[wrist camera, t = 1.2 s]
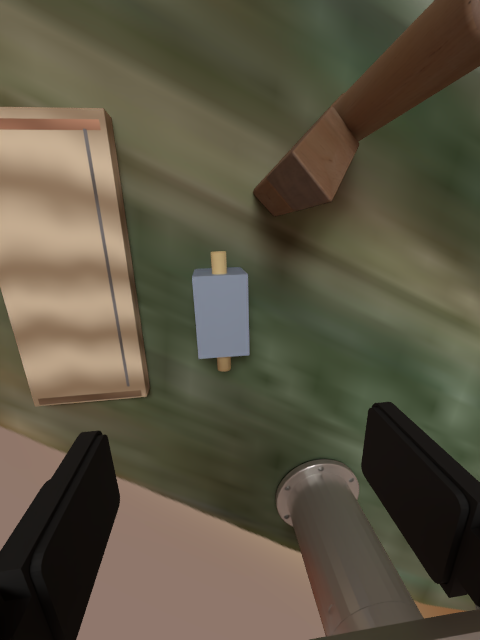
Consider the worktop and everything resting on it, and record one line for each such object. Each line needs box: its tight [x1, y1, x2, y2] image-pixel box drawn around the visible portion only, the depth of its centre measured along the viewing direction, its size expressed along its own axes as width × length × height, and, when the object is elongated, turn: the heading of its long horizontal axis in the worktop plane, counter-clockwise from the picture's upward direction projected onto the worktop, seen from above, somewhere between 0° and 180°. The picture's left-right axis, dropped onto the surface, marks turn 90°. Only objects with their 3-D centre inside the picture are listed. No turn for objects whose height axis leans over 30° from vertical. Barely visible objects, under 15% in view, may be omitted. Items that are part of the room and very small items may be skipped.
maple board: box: [0, 107, 150, 406], centre depth 28 cm, size 28×12×2 cm, turn 2°
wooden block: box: [253, 0, 480, 217], centre depth 20 cm, size 4×11×18 cm, turn 135°
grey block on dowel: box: [192, 251, 249, 372], centre depth 29 cm, size 12×5×6 cm, turn 2°
